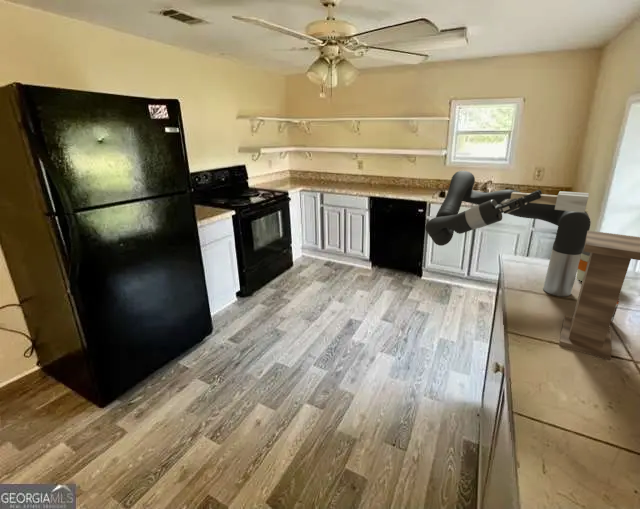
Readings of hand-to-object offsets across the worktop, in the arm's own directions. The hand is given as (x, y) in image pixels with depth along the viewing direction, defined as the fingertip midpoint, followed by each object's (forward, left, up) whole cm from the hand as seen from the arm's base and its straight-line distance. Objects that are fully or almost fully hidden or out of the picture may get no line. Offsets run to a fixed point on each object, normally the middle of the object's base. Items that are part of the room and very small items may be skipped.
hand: (540, 193), depth 101 cm
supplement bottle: (-16, +23, -44) cm, 52 cm away
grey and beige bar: (0, +2, -4) cm, 4 cm away
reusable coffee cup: (-52, +19, -44) cm, 71 cm away
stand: (0, +19, -43) cm, 48 cm away
